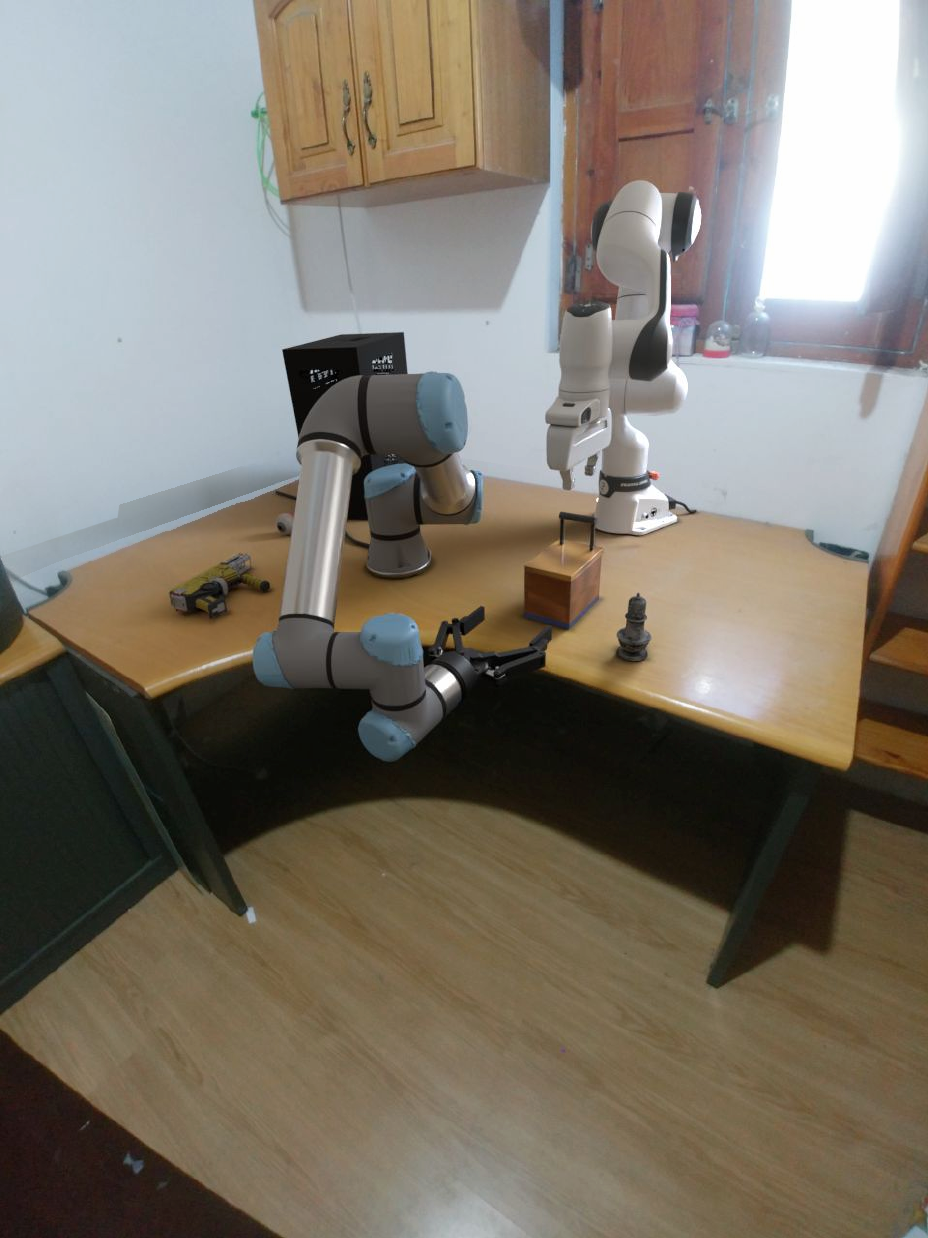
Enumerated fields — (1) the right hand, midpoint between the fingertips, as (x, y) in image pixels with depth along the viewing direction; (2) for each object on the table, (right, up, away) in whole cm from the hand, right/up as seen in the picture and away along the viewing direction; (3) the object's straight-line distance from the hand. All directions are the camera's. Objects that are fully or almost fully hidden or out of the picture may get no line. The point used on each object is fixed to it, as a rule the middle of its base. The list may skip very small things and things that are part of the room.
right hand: (579, 481), depth 114 cm
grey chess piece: (+8, -32, -7) cm, 34 cm away
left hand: (-13, -27, -8) cm, 30 cm away
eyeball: (-70, -3, +51) cm, 87 cm away
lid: (-2, -15, +4) cm, 15 cm away
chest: (-2, -24, +8) cm, 25 cm away
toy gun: (-73, -20, +22) cm, 79 cm away
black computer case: (-52, +12, +75) cm, 92 cm away
